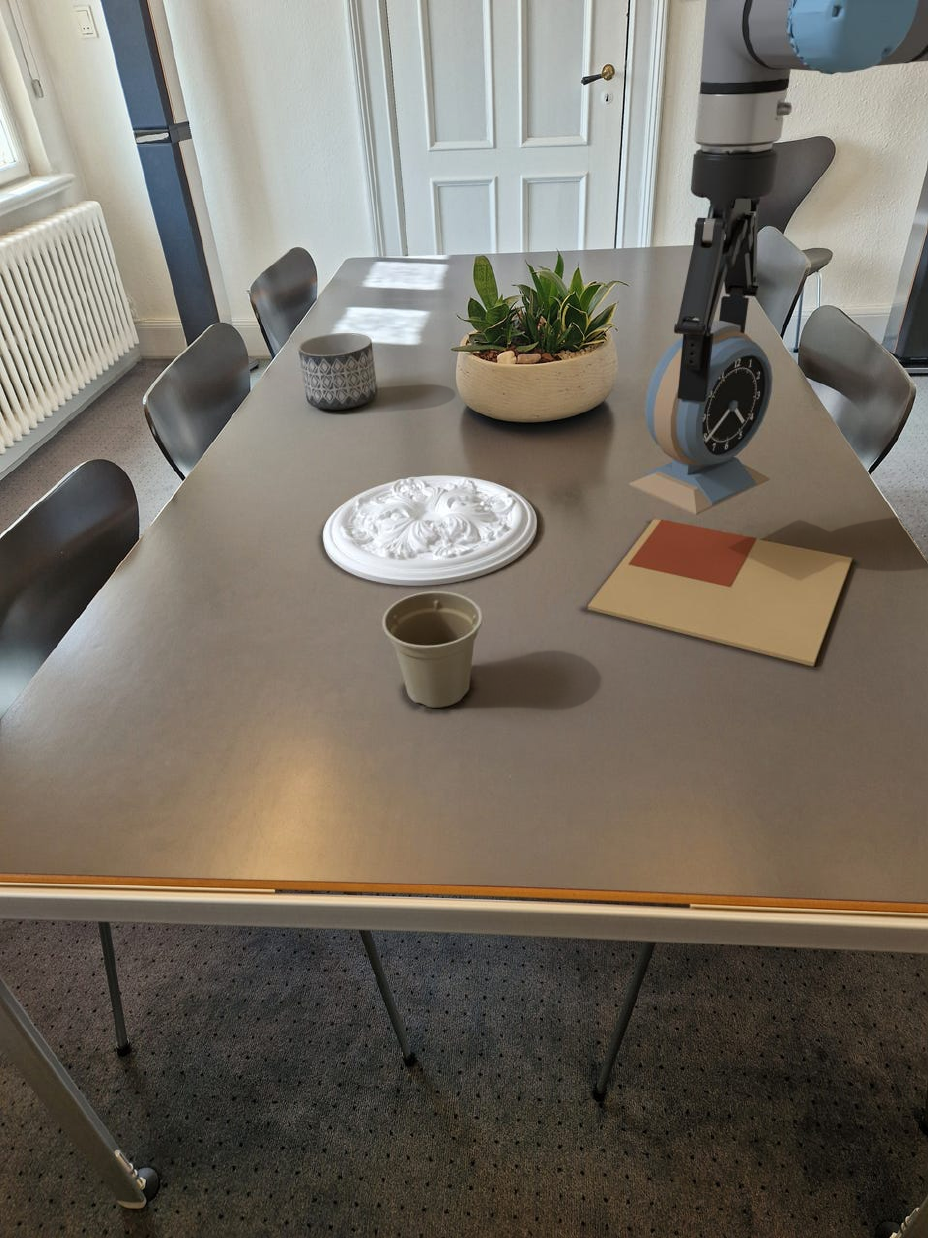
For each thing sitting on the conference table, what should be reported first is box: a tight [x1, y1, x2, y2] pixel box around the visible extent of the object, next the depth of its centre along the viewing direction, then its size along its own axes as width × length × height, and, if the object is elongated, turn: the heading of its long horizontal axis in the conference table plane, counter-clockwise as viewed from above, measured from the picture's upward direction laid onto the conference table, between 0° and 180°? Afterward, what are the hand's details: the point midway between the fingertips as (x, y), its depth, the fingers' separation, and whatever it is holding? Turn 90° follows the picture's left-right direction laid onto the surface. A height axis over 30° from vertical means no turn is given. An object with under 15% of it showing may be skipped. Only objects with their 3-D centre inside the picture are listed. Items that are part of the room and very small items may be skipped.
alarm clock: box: [628, 320, 773, 516], centre depth 91 cm, size 14×10×18 cm
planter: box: [297, 332, 378, 411], centre depth 150 cm, size 13×13×10 cm
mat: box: [587, 518, 853, 667], centre depth 97 cm, size 24×22×1 cm
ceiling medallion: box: [322, 475, 538, 587], centre depth 111 cm, size 28×28×3 cm
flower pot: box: [381, 590, 483, 709], centre depth 82 cm, size 9×9×9 cm
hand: (710, 378), depth 89 cm, fingers closed on alarm clock, 12 cm apart
